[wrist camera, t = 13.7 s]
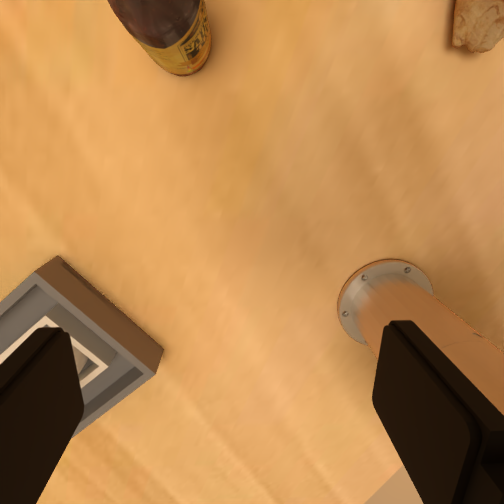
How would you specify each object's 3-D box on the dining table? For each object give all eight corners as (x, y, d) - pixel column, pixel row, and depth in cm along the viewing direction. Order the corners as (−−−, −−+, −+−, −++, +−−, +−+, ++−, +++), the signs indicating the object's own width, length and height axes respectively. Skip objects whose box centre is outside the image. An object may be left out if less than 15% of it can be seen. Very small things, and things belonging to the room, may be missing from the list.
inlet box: (163, 349, 45) (155, 374, 40) (74, 418, 48) (57, 449, 43) (57, 255, 40) (34, 271, 35) (-35, 339, 43) (-68, 364, 38)
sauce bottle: (209, 82, 34) (179, 19, 16) (148, 72, 34) (42, -6, 15) (215, 8, 32) (190, -166, 14) (150, -4, 32) (31, -203, 13)
